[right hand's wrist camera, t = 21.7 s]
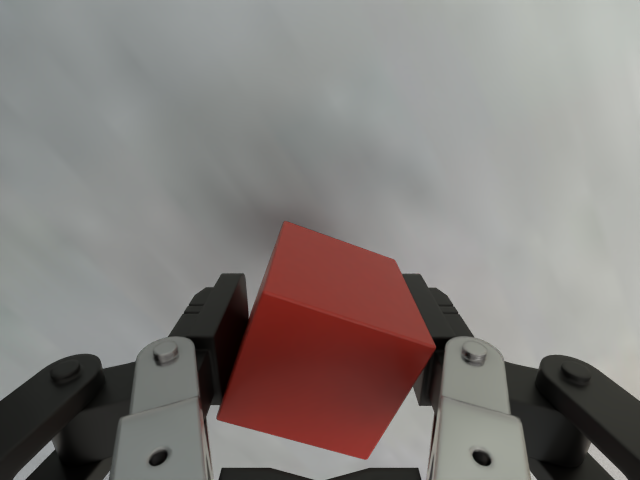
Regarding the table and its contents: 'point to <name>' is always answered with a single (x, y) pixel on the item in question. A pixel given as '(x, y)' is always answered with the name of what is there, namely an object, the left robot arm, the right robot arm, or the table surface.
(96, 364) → the right robot arm
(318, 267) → the block
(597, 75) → the table surface
